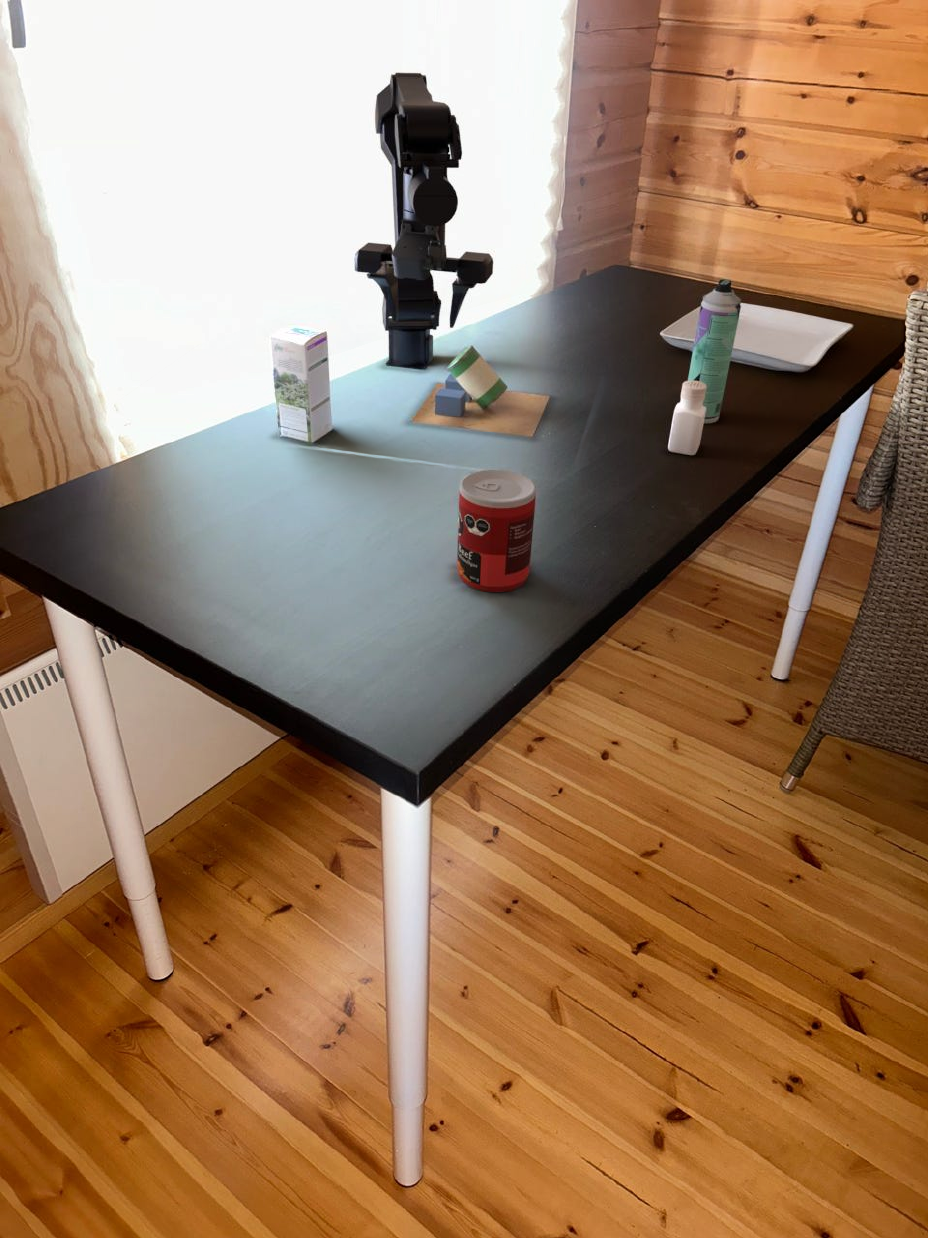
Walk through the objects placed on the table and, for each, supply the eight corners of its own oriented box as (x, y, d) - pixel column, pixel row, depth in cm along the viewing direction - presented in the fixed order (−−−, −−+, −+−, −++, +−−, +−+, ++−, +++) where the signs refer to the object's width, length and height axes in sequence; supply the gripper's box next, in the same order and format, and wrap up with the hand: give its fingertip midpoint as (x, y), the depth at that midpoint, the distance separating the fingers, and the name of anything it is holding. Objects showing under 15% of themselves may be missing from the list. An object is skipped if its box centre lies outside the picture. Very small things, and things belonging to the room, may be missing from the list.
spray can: (716, 410, 146) (742, 276, 134) (720, 424, 141) (748, 287, 130) (680, 407, 146) (703, 274, 135) (683, 422, 142) (707, 284, 130)
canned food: (454, 557, 107) (456, 469, 101) (523, 556, 108) (531, 468, 102) (459, 594, 101) (462, 502, 95) (533, 593, 102) (541, 502, 96)
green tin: (442, 409, 141) (443, 349, 136) (450, 397, 145) (452, 338, 140) (502, 417, 140) (506, 356, 135) (508, 404, 144) (512, 345, 139)
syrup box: (334, 430, 135) (329, 329, 127) (311, 446, 130) (304, 341, 122) (299, 422, 137) (292, 322, 128) (276, 437, 132) (267, 334, 124)
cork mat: (410, 423, 138) (410, 421, 138) (437, 384, 151) (437, 382, 150) (532, 439, 135) (532, 436, 135) (550, 398, 148) (550, 395, 147)
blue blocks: (434, 414, 140) (434, 394, 138) (449, 392, 147) (449, 373, 145) (460, 417, 139) (461, 398, 138) (474, 395, 147) (475, 376, 145)
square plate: (850, 342, 175) (856, 321, 172) (808, 386, 155) (814, 363, 153) (709, 314, 186) (713, 293, 184) (654, 352, 167) (657, 330, 165)
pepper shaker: (666, 452, 133) (677, 387, 127) (671, 441, 136) (682, 377, 130) (695, 457, 132) (707, 391, 126) (699, 446, 135) (711, 381, 129)
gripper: (339, 215, 124) (344, 334, 133) (479, 228, 121) (474, 348, 130) (365, 199, 133) (368, 311, 142) (496, 210, 130) (490, 324, 139)
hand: (423, 324), depth 138 cm, fingers open, 8 cm apart
